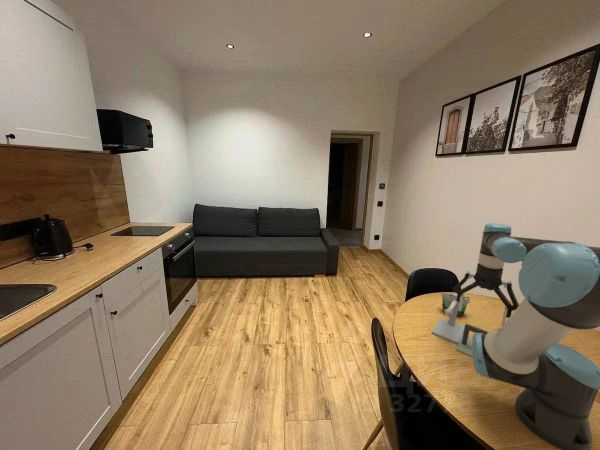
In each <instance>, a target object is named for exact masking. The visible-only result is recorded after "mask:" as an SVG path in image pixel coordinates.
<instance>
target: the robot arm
mask: <svg viewBox="0 0 600 450" xmlns="http://www.w3.org/2000/svg"><path fill="white" fill-rule="evenodd" d="M477 262H478V263H477V265H476V270H475V274H474V273H472V272H470V271H467V272H466V273H465V275H464V277H463V278H462V279H461V280H460V281H459V282H458V283H457V284H456V285H455V286H454V288H453V289H452V292H453V293H456V294H457V302H459V308H458V311H461V309H462V304H463V298H464V297H465V293H467V292H468V291H471V290H473V289H475V288H477V287H479V288H480V289H485V290H487V291H494V293H495V294H496V295H497V297H498V298H499V300H500V301H501V302H502V304H504V306H505V307H504V311H503V317H502V321H501V327H500V328H495V329H492V330H489V331H488V333H487V334H486V335H485V334H483V333H475V332H473V335H472V338H473V341H472V351H473V358H472V361H473V367H474V370H475V372H476V373H478V374H479V375H481V376H483V377H485V378H488V379H489V380H491V379H492V380H495V381H499V382H503V383H506V384H510V385H513V386H517V387H519V388H523V390H522V391H521V392H520V393H519V394H518V395H517V396H516V399H515V402H514V410H515V412H516V414H517V417H518V418H519V419H520V420H521V422H522V423H523V424H524V425H525V426H526V427H527V428H529V430H531V431H532V432H533V433H534V434H536V435H537V436H538V437H540V438H541V439H542V440H544V441H545V442H547V443H549V444H551V445H553V446H555V447H557V448H559V449H562V450H590V448H591V445H592V442H593V435H592V430H591V425H590V420H589V417H590V414H591V411H592V408H593V406H594V403H595V401H596V397H597V395H598V393H599V390H600V368H599V366H598V365H597V364H596V363H595V362H594V361H592V360H591V359H590V358H589V357H587V356H586V355H585V354H582V353H581V352H579V351H577V350H576V349H574V348H572V347H569V346H568V345H566V344H563V343H560V341H562V340H563V339H565V337H567V336H568V335H570V334H571V333H572V332H574V331H575V330H578V331H590V330H594V329H597V328H599V327H600V247H599V246H587V244H584V243H582V242H581V243H579V242H575V241H570V240H569V241H564V240H563V241H562V240H551V239H540V238H531V237H530V238H529V237H521V236H520V237H518V236H512V227H511V225H508V224H503V223H497V222H496V223H495V222H492V223H491V222H490V223H486V224H485V225H484V228H483V231H482V239H481V243H480V249H479V253H478V260H477ZM519 262H522V263H521V264H520V265H521V268H520V269H519V270H518V271H519V272H518V287H519V291H520V293H521V294H522V296H523V297H524V299H523V300H522V302H521V303H520V304H519V302H518V299H517V298H516V294H515V293H514V290H513V282H512V281H504V280H503V281H502V277H503V273H504V266H505V263H507V264H516V263H519ZM472 278H473V279H474V282H472V283H470V284H469V285H466V286H465V287H463V288H461V287H462V286H463V285H464V284H465V283H466V282H467V281H468V280H471V279H472ZM500 286H503V287H504V288H505V289H506V291H507V294H508V296H509V298H510V301H511V302H510V301H509V299H508V298H507V297H506V295H505V294H504V293H503V291H502V290H501V288H500ZM460 288H461V289H460ZM511 303H512V304H511ZM512 312H513V313H512ZM507 318H508V319H507Z"/></svg>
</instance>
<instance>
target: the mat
mask: <svg viewBox="0 0 600 450" xmlns="http://www.w3.org/2000/svg"><path fill="white" fill-rule="evenodd" d="M462 339H463V334H462V336H461V338H460V341H459V343H458V345H457V344H456V348H455V351H457V352H459V353H461V354H463V355H465V356H468V357H470V358H472V359H473V351H472V341H473V337H470V336H468V341H467V345H464V344H462Z"/></svg>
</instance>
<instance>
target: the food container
mask: <svg viewBox="0 0 600 450" xmlns="http://www.w3.org/2000/svg"><path fill="white" fill-rule="evenodd" d="M440 296H441V298H442V299H441V300H442V303H441V304H442V306H441V308H442V309H441V310H442V312H443V311H444V312H445V310H446V309H448V308H449V306H450V305H451V303H452V297H453V294H448V293H444V292H442V293H441V295H440ZM470 303H471V300H470V295H468V296H464V298H463V304H462V309H461V311H457V316H456V318H462V317H464V315H465V312H466V309H467V306H468V304H470ZM458 308H459V305H458ZM444 312H443V313H444Z"/></svg>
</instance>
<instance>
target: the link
mask: <svg viewBox="0 0 600 450" xmlns="http://www.w3.org/2000/svg"><path fill="white" fill-rule="evenodd" d="M464 327H465V328H464V332H463V339H462V344H464V345H467V341H468V337H470V332H472V333H483V334H485V335H486V334H487V333H488V332H489V331H487V330H485V329H482V328H480V327H477V326H474V325H471V324H469V323H465V324H464Z"/></svg>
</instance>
